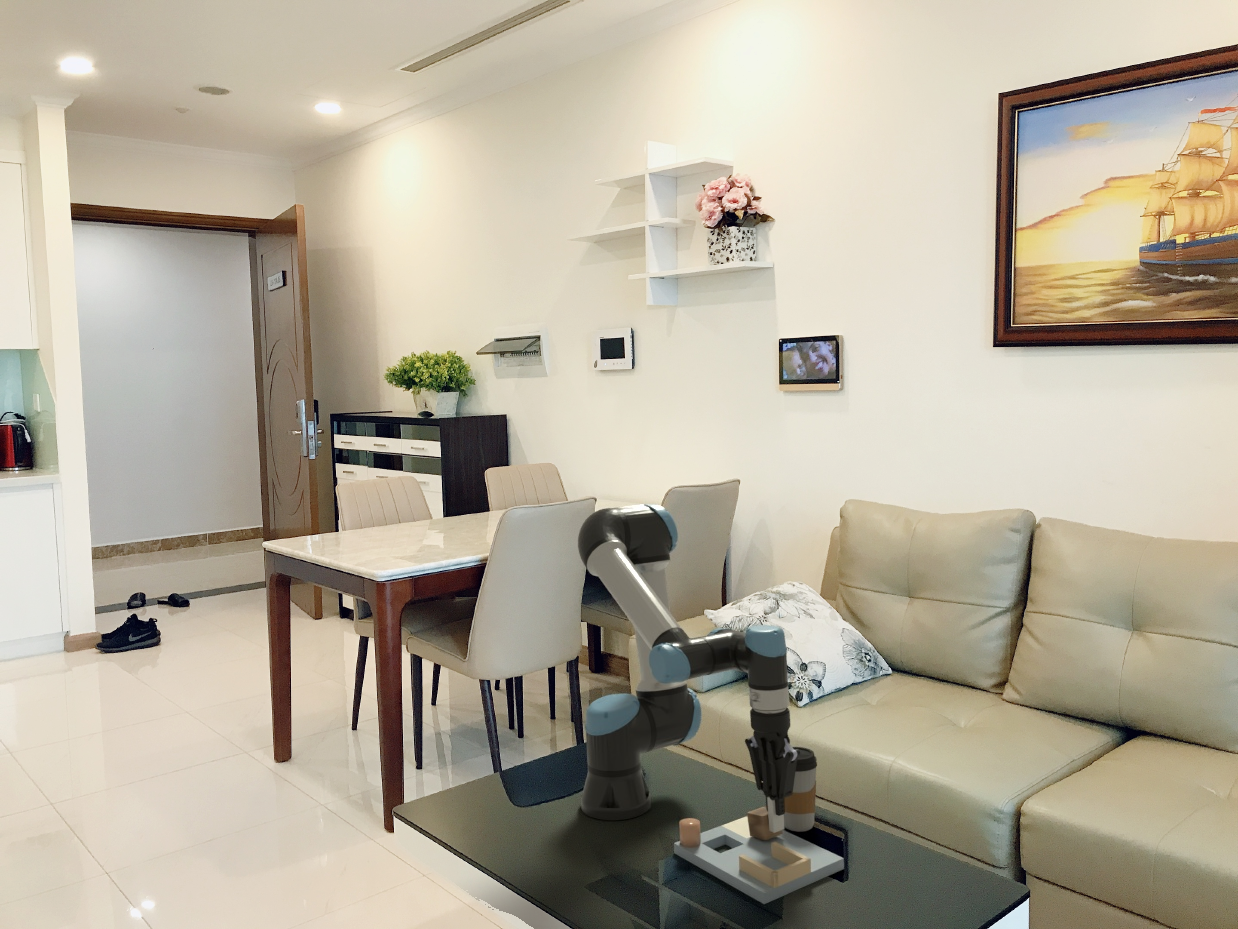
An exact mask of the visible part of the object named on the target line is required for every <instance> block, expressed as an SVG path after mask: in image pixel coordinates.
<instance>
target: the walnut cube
mask: <svg viewBox="0 0 1238 929" xmlns="http://www.w3.org/2000/svg"><path fill="white" fill-rule="evenodd" d="M746 816H747V817H748V824H749V832H750V836H752V837H755V838H759V839H763V840H768V839H771V838H773V837H776V836H778V835H781V834H783V830H784V829H783V830H781V831H778V832H775V833H773V832H771V831H769V818H768V811H767V809H766V806H761V807H759V808H756V809H753V810H750V811H748V812H746Z"/></svg>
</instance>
